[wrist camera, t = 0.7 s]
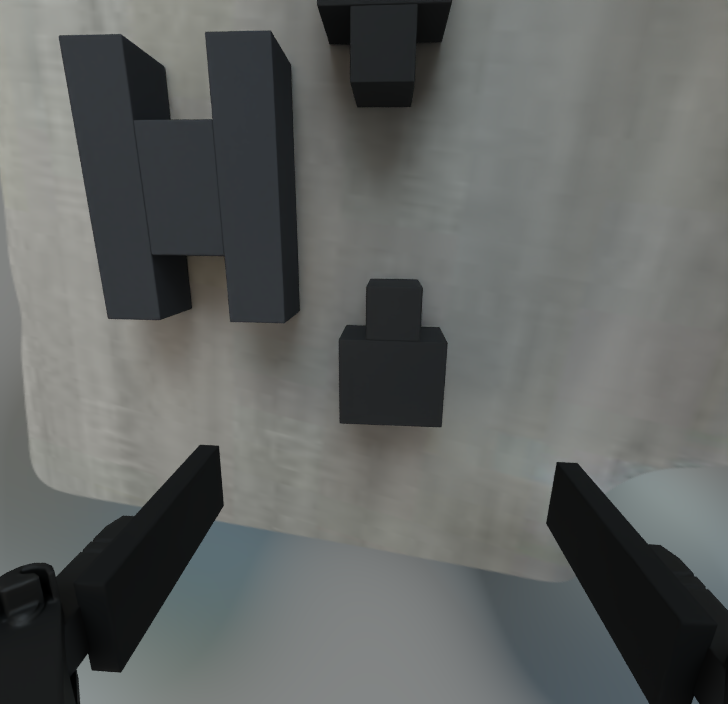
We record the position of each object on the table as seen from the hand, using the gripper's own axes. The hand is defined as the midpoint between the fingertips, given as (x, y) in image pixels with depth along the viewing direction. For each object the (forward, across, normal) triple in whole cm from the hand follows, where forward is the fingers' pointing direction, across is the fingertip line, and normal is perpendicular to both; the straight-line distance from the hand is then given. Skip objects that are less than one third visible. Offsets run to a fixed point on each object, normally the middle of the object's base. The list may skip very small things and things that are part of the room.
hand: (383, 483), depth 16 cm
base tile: (+16, -13, +12) cm, 23 cm away
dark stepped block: (+16, 0, +2) cm, 16 cm away
